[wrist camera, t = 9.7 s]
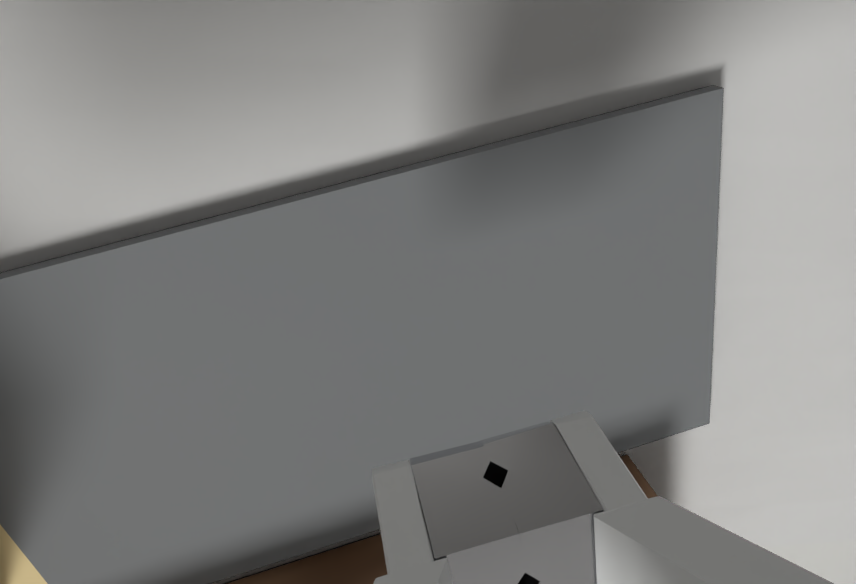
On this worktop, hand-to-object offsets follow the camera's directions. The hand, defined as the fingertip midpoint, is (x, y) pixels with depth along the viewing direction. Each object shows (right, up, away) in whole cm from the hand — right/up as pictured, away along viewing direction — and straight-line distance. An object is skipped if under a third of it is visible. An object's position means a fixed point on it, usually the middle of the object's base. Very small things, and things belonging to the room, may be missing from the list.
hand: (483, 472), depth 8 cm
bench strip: (-6, 0, +4) cm, 7 cm away
